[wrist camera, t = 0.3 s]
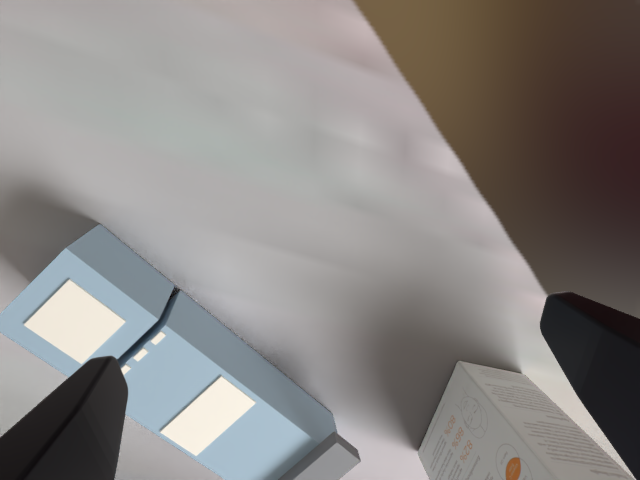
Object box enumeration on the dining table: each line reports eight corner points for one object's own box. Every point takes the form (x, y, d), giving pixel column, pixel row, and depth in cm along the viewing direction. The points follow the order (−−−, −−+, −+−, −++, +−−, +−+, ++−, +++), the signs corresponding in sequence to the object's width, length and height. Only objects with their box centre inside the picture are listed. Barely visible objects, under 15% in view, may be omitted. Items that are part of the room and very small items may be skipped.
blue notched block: (266, 471, 27) (268, 542, 23) (106, 360, 23) (70, 420, 19) (344, 403, 27) (363, 463, 22) (194, 276, 23) (178, 317, 18)
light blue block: (114, 343, 23) (85, 390, 19) (36, 287, 21) (-13, 326, 18) (175, 285, 23) (158, 320, 19) (99, 223, 21) (64, 248, 17)
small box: (480, 461, 30) (590, 632, 20) (414, 452, 29) (496, 629, 19) (526, 371, 28) (672, 511, 18) (456, 356, 27) (573, 498, 17)
